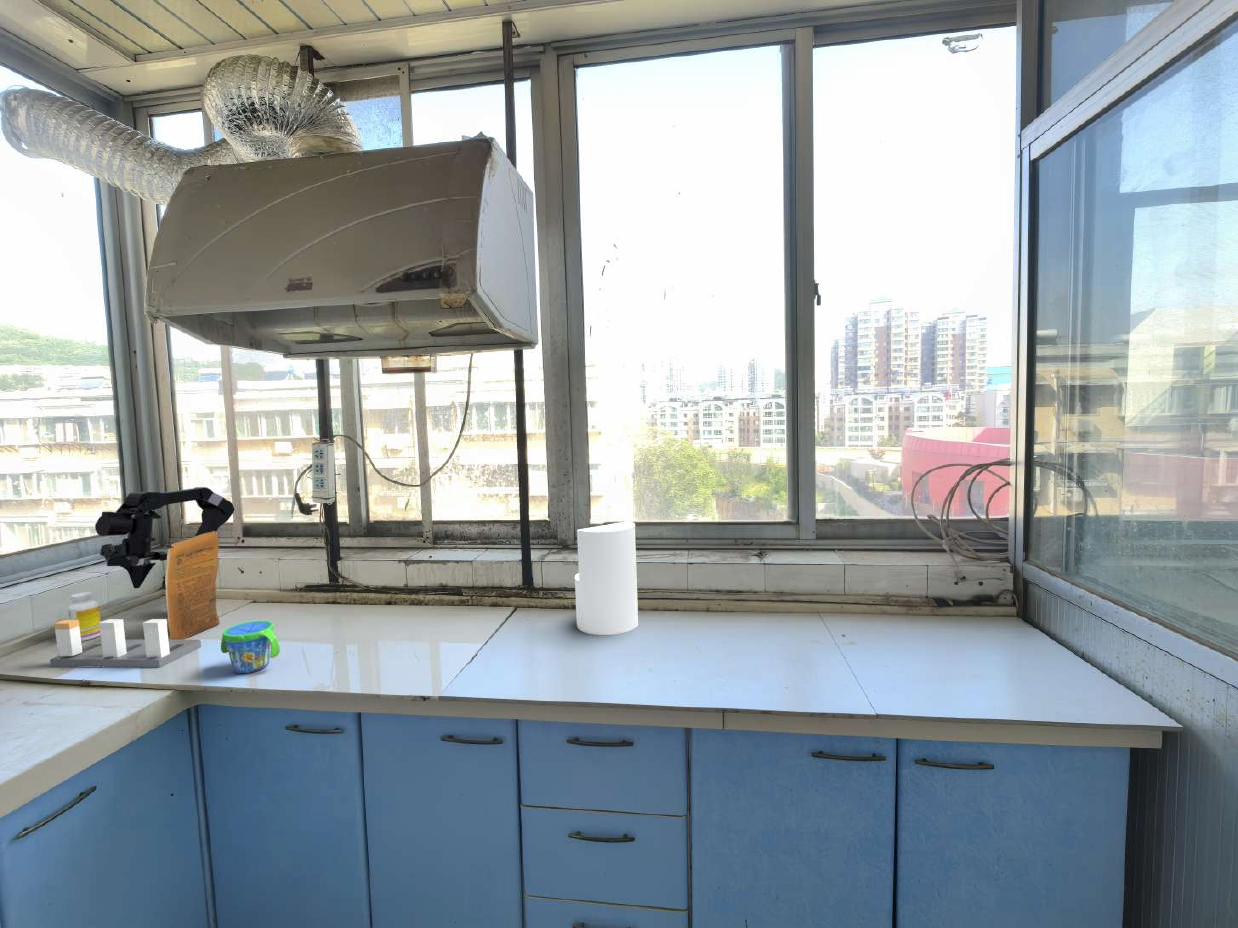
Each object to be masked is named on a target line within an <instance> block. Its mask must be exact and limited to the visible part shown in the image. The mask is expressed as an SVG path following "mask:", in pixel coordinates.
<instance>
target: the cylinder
mask: <svg viewBox="0 0 1238 928" xmlns="http://www.w3.org/2000/svg"><path fill="white" fill-rule="evenodd" d="M576 537H577V539H576V540H577V557H578V558H577V559H578V560H577V563H578V573H576V574H575V576H574V591H575V613H576V617H575V618H576V627H577V629H578V630H579V631H581V632H583V633H585V634H590V635H595V636H596V635H597V636H613V635H619V634H625V633H628V632H631V631H633V630H634V629H636V628H637V627H638V625H639V609H638V608H639V607H638V581H637V580H638V579H637V578H638V577H637V548H636V547H637V546H636V523H634V522H632V521H631V520H630V521H622V522H616V523H610V524H606V525H605V524H604V525H598V526H593V527H587V528H580V529H577V530H576Z"/></svg>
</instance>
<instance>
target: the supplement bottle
mask: <svg viewBox="0 0 1238 928" xmlns="http://www.w3.org/2000/svg"><path fill="white" fill-rule="evenodd" d="M93 597H94V593H93V592H92V591H85V592H79V593H75V594H72V595H70V600H71V602H72V603H71V604H70V605H69V606H68V607H67V614H68V615H67V616H68V620H79V625H80V626H79V628H80V636H81V642H84V641H90V640H93V639H96V638H99V637H101V634H100V628H99V623H100V622H102V621H101V615H100V605H99V604H100V603H99V602H98V601H97V600H95V599H93Z"/></svg>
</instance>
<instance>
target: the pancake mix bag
mask: <svg viewBox="0 0 1238 928" xmlns="http://www.w3.org/2000/svg"><path fill="white" fill-rule="evenodd" d="M219 541H220V540H219V536H218V531H217V532H215V531H213V532H208V533H205V534H202V535H198V536H195V535H194V536H193V537H190V538H188V539H185V540H180V541H177V542H174V543H172V544H170V546H171V548H168V549H167V560H166V568H165V574H166V577H165V585H166V591H165V599H166V606H167V620H168V621H167V623H168V628H169V640H187V639H188V638H191V637H194V636H196V635H198V634H200V633H202V632H204V631H207V630H210V629H211V628H212V629H213V628H214V627H216V626H217V627H218V626H219V625H220V617H219V615H218V612H217V590H216V588H217V587H216V586H217V583H216V580H217V576H218V571H219V570H218V569H219V559H218V558H219V557H218V556H219V555H218V554H219V547H220V545H219V543H220V542H219Z"/></svg>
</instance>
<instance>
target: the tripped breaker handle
mask: <svg viewBox="0 0 1238 928" xmlns="http://www.w3.org/2000/svg"><path fill="white" fill-rule="evenodd" d="M53 625H54V626H53V627H54V632H55V640H56V645H57V646H56V647H57V656H74V655H76V654H79V653H81V652H82V646H83V645H82V641H81V636H80V628H79V626H80V625H79V620H69V619H63V620H61V621H57V622H55V623H53Z"/></svg>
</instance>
